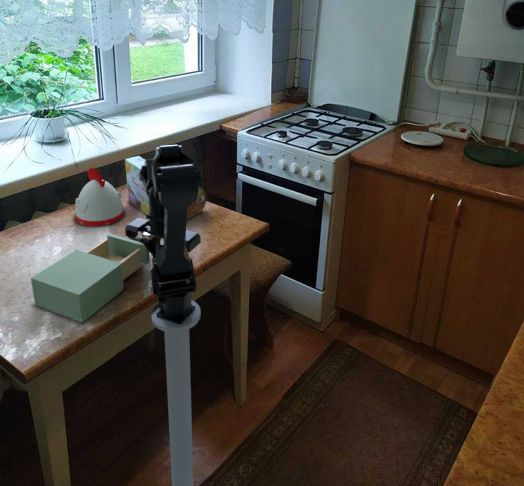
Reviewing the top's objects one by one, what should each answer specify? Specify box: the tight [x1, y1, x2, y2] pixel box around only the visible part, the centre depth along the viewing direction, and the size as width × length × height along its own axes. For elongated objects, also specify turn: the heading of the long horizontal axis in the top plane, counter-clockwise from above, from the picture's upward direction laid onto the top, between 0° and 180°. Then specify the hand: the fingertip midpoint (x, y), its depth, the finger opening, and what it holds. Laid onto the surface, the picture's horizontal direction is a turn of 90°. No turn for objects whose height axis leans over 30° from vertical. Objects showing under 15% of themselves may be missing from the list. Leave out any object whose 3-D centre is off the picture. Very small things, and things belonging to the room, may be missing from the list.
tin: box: [187, 187, 207, 220], centre depth 151 cm, size 15×3×8 cm, turn 144°
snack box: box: [124, 155, 149, 215], centre depth 153 cm, size 21×6×15 cm, turn 41°
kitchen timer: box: [75, 167, 125, 227], centre depth 149 cm, size 14×14×15 cm
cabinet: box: [30, 249, 125, 323], centre depth 112 cm, size 14×14×7 cm
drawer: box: [85, 233, 151, 281], centre depth 124 cm, size 17×12×5 cm
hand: (163, 264), depth 124 cm, fingers closed on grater, 2 cm apart
